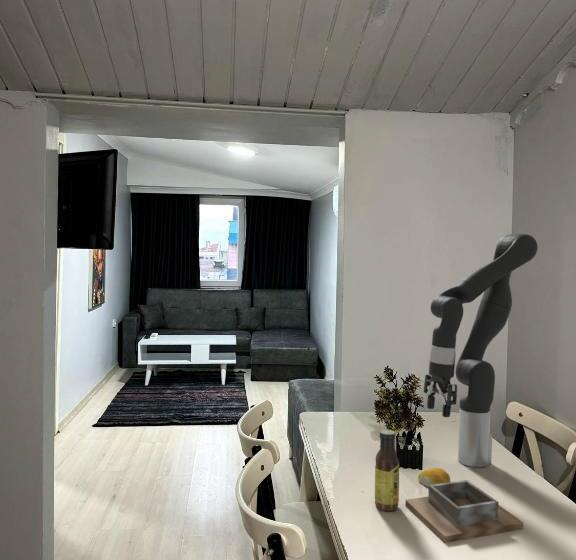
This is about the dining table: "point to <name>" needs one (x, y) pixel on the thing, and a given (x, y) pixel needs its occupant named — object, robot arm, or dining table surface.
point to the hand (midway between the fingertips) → (437, 412)
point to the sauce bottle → (387, 473)
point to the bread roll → (433, 476)
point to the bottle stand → (461, 512)
